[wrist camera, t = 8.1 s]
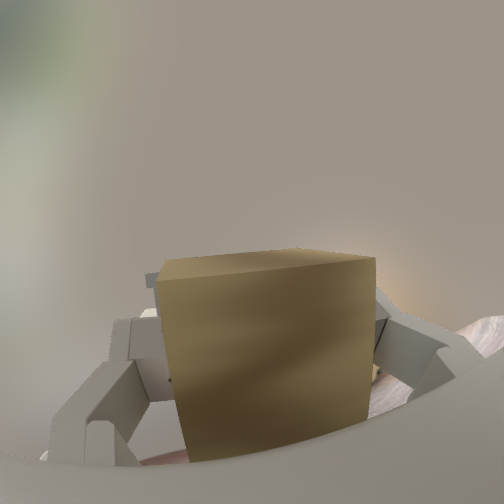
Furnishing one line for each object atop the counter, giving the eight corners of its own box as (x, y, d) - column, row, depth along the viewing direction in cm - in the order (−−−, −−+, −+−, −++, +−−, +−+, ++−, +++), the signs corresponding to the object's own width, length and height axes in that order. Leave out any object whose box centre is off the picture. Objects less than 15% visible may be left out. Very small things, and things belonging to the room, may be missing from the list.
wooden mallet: (192, 470, 6) (155, 281, 6) (178, 327, 19) (170, 249, 18) (366, 427, 7) (375, 257, 7) (254, 318, 20) (249, 242, 20)
